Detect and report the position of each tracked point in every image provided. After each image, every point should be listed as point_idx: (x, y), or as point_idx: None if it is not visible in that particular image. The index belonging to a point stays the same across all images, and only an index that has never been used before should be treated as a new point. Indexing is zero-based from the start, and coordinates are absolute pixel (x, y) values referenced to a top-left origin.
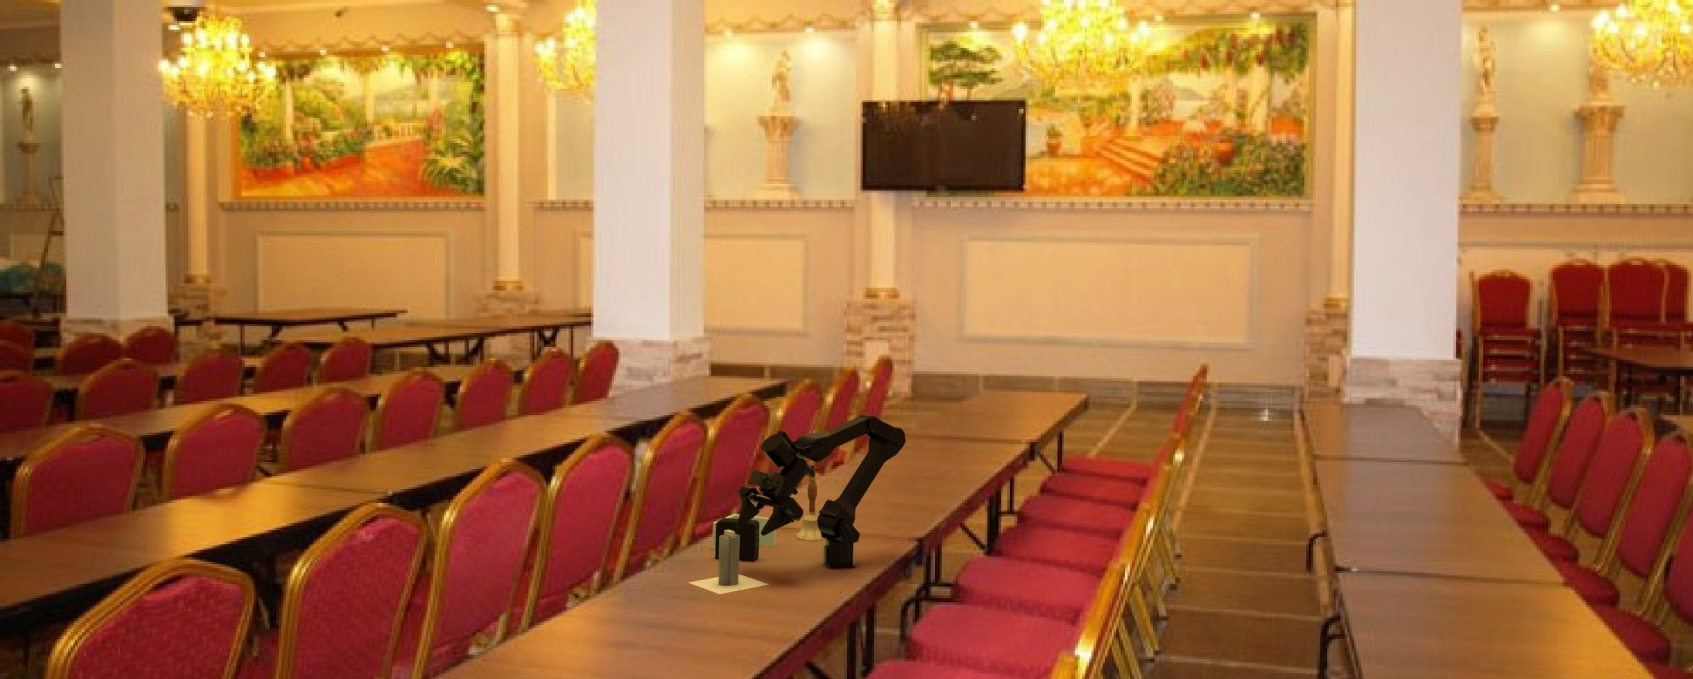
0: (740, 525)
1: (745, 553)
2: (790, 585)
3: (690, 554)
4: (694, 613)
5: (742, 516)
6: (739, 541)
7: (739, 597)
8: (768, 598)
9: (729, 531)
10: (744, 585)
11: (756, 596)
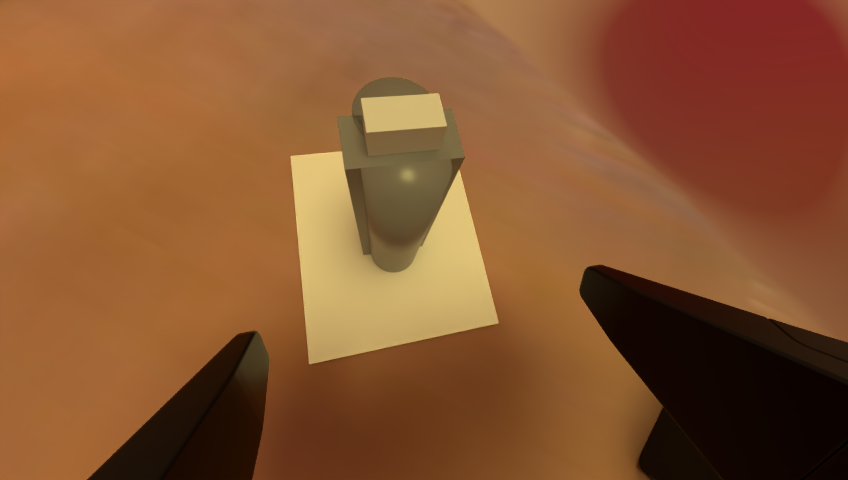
0: (597, 300)
1: (684, 448)
2: (279, 463)
3: (776, 302)
4: (175, 34)
5: (681, 321)
6: None
7: (243, 205)
8: (168, 285)
9: (389, 104)
10: (341, 272)
11: (219, 259)
